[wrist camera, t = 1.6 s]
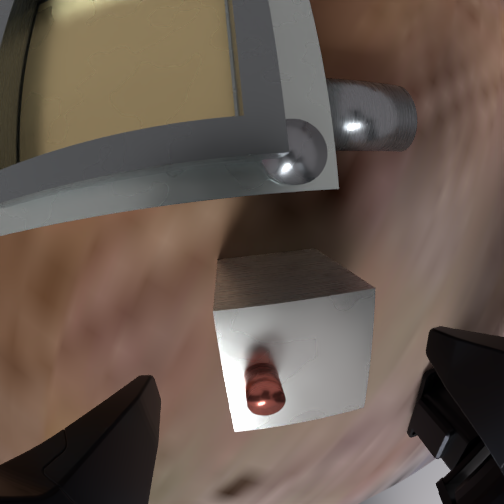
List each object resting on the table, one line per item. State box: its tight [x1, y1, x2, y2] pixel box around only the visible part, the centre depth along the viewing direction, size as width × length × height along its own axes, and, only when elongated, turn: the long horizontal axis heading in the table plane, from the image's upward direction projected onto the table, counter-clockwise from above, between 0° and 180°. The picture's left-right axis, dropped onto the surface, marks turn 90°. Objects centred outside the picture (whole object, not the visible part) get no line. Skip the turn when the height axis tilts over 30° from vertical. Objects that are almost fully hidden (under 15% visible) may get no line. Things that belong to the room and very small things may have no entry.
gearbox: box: [0, 0, 417, 236], centre depth 9 cm, size 18×12×6 cm, turn 95°
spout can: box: [213, 249, 375, 432], centre depth 10 cm, size 4×4×7 cm
